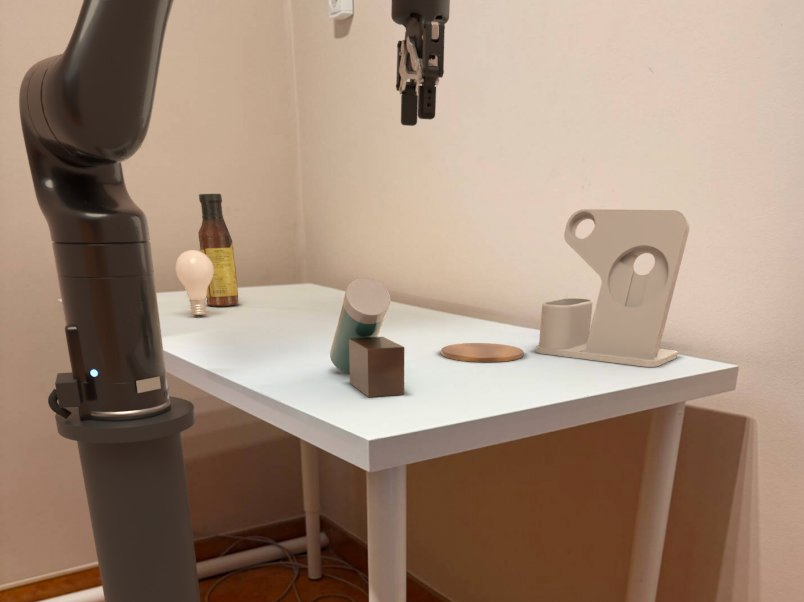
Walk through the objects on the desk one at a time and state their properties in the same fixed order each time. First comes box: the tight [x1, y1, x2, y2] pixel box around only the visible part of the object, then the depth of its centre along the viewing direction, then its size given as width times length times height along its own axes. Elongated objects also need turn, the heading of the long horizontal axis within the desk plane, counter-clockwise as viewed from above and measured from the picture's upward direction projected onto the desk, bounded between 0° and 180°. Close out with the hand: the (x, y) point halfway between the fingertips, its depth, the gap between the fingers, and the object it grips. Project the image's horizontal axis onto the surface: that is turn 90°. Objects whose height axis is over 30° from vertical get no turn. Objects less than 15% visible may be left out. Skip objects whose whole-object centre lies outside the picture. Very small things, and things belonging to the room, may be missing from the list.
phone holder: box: [535, 208, 690, 368], centre depth 99 cm, size 17×10×18 cm, turn 53°
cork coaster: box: [440, 342, 524, 363], centre depth 102 cm, size 11×11×1 cm
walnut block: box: [349, 336, 405, 398], centre depth 82 cm, size 4×7×5 cm, turn 20°
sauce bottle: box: [198, 193, 239, 307], centre depth 144 cm, size 6×6×20 cm
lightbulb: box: [174, 249, 214, 318], centre depth 131 cm, size 6×6×11 cm
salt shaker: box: [329, 277, 392, 374], centre depth 86 cm, size 5×11×11 cm, turn 20°
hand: (417, 122), depth 103 cm, fingers open, 8 cm apart
